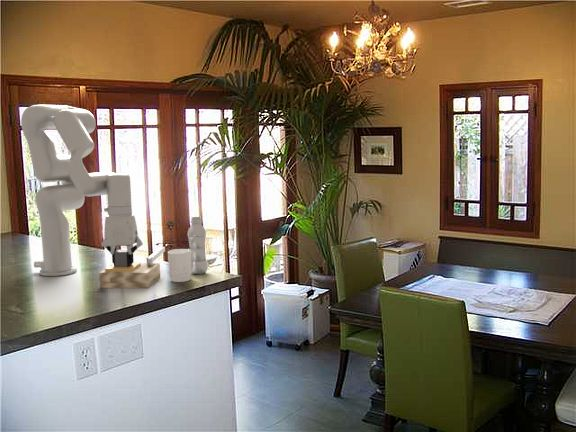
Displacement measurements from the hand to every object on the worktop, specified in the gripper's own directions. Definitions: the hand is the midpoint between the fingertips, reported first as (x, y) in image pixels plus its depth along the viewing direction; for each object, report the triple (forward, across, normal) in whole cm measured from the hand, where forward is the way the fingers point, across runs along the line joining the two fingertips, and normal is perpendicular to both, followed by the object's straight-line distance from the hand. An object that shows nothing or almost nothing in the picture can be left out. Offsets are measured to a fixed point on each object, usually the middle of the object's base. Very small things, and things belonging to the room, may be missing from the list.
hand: (123, 264), depth 206 cm
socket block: (+6, +2, +1) cm, 7 cm away
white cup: (+7, +18, +5) cm, 20 cm away
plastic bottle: (+6, +22, +14) cm, 27 cm away
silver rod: (+1, +7, +13) cm, 15 cm away
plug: (+4, 0, 0) cm, 4 cm away
